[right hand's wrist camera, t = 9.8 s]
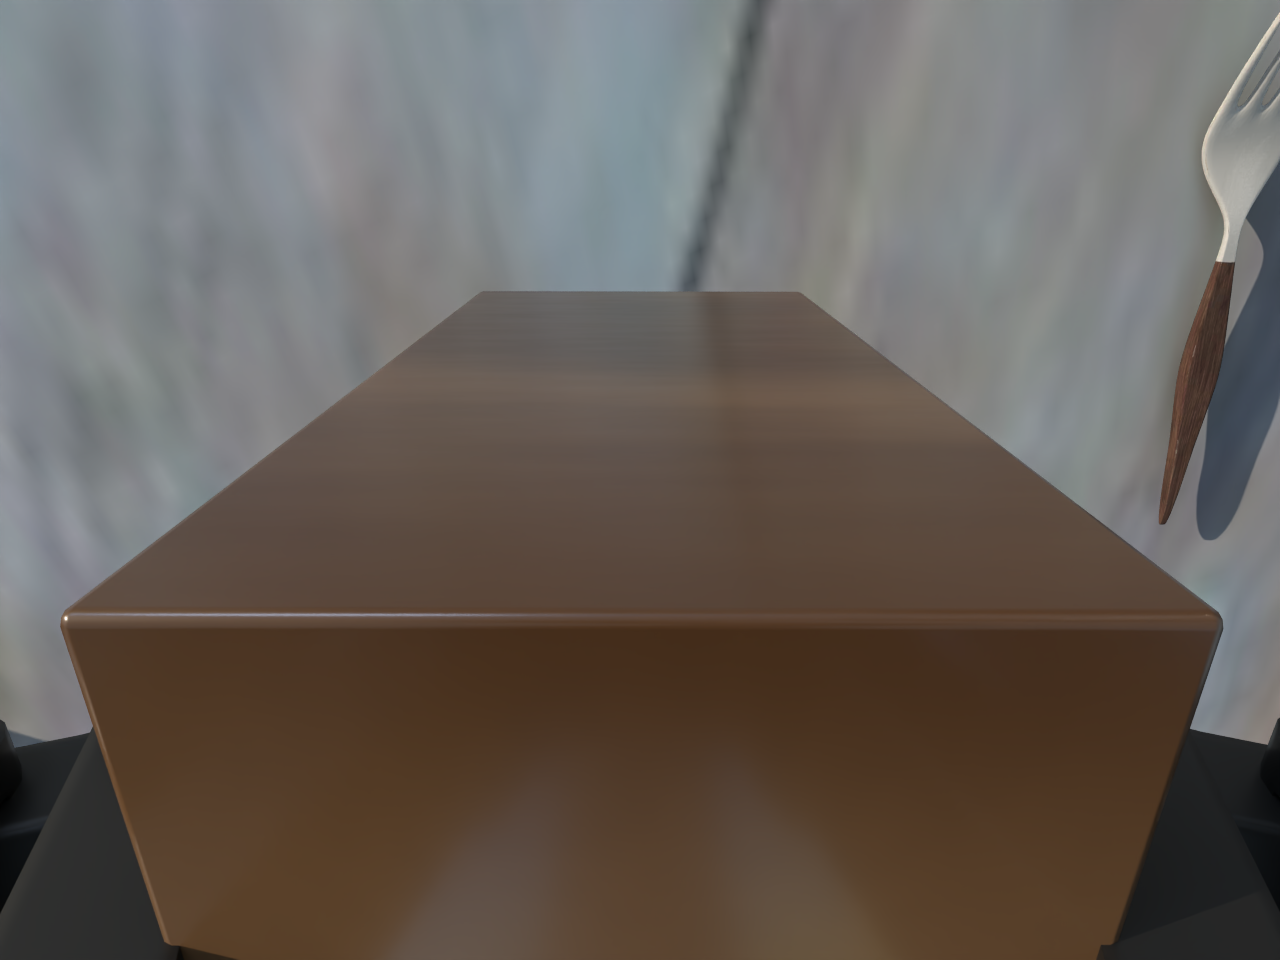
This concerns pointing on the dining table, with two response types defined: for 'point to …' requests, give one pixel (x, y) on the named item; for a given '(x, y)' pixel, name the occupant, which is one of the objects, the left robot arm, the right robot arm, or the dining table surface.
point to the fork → (1222, 251)
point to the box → (641, 663)
